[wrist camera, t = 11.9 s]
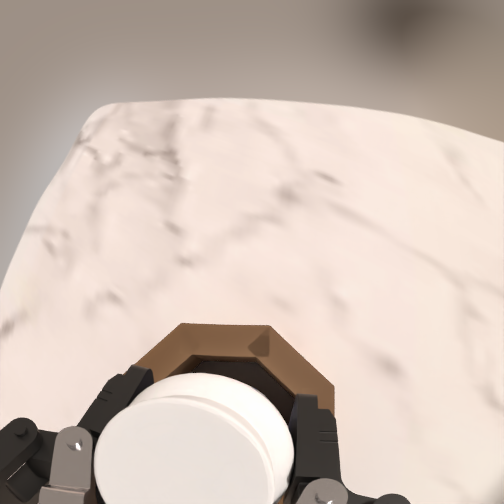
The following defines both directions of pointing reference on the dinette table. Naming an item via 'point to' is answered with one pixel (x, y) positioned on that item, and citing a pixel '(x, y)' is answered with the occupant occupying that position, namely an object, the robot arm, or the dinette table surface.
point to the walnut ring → (238, 357)
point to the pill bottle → (195, 445)
